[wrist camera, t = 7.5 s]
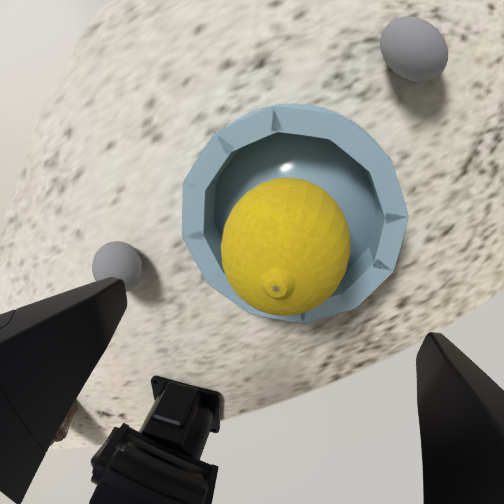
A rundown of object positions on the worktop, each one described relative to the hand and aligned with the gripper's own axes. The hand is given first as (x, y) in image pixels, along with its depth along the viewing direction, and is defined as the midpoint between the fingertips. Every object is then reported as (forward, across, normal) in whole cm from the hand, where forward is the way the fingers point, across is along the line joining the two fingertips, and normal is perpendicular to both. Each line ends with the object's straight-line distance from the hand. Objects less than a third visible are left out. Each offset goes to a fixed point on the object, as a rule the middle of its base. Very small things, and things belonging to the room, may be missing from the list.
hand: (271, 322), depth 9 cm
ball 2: (+11, -5, -10) cm, 15 cm away
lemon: (+10, 0, 0) cm, 10 cm away
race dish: (+11, 0, 0) cm, 11 cm away
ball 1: (+11, +11, +5) cm, 16 cm away
